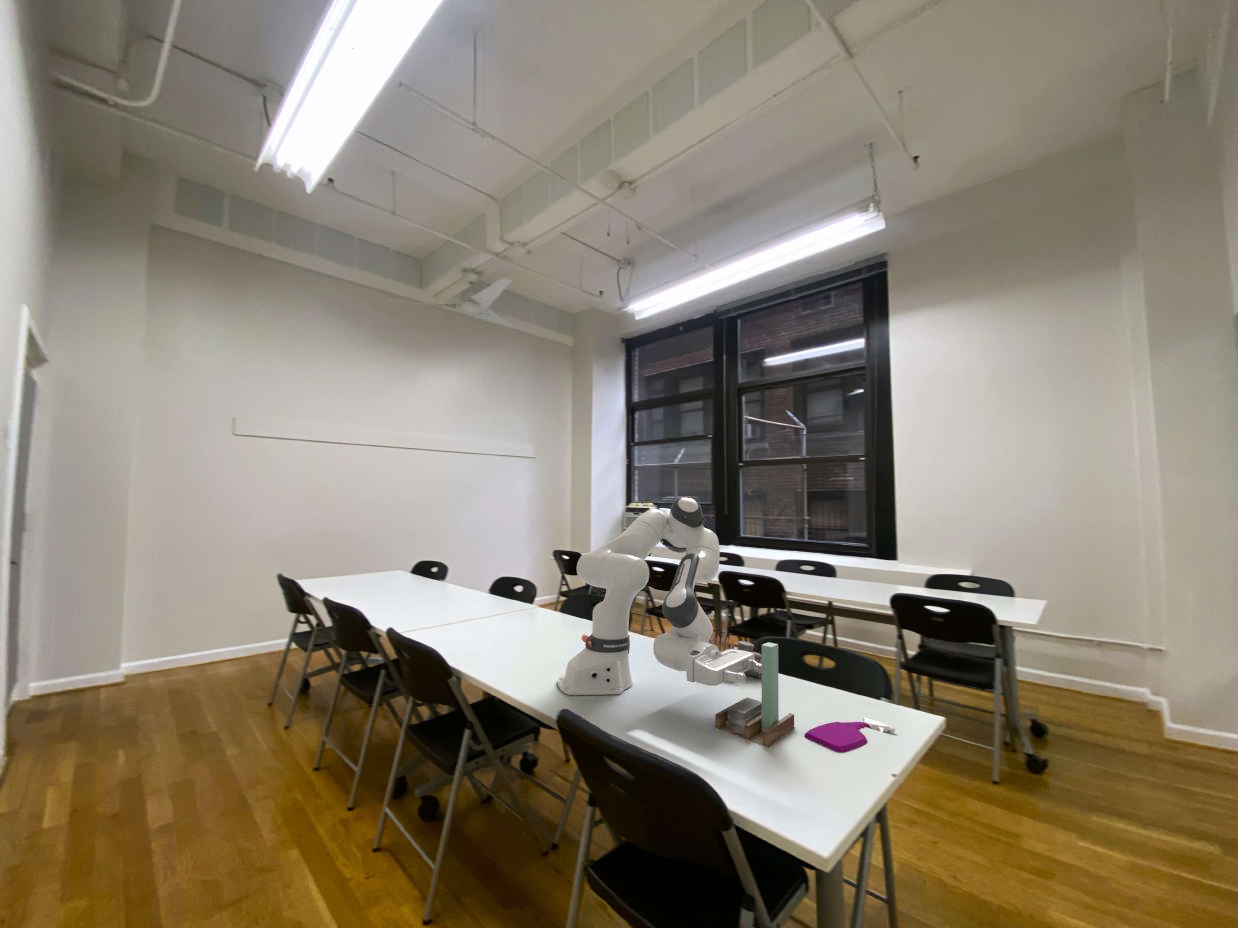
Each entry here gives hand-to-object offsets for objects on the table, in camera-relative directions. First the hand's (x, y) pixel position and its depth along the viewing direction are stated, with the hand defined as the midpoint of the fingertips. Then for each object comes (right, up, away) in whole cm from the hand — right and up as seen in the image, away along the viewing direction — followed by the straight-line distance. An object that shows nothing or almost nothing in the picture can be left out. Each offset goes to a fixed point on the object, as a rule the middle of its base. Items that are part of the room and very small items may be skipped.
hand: (754, 673), depth 119 cm
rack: (-1, -13, -2) cm, 14 cm away
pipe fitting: (+9, -18, +40) cm, 44 cm away
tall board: (+2, -12, -5) cm, 13 cm away
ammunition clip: (0, -17, +40) cm, 44 cm away
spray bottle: (+22, -14, -3) cm, 27 cm away
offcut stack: (-2, -12, -1) cm, 12 cm away
